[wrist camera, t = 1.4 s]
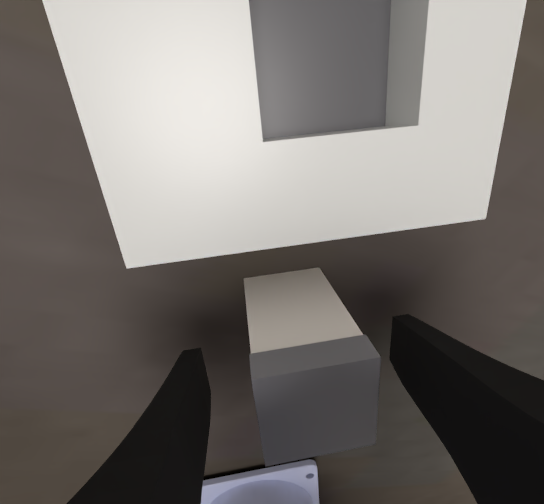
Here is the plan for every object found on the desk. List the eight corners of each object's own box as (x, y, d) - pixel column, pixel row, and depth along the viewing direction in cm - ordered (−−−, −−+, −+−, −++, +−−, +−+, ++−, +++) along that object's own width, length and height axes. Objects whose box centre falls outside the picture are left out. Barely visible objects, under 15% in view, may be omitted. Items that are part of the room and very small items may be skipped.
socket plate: (443, 204, 13) (498, 223, 11) (145, 243, 12) (120, 276, 10) (509, -312, 8) (658, -546, 5) (-14, -325, 7) (-175, -629, 4)
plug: (322, 330, 15) (375, 444, 10) (251, 341, 15) (265, 466, 9) (320, 266, 14) (380, 357, 8) (242, 277, 13) (251, 379, 8)
